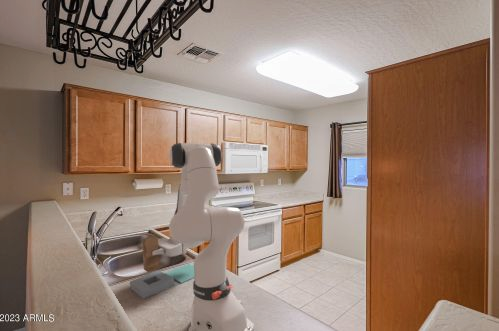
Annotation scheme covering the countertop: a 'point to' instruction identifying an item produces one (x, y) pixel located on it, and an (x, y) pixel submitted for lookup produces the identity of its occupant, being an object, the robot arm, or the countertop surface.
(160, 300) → the countertop surface
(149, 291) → the socket block
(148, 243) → the walnut peg
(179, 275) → the teal mat
